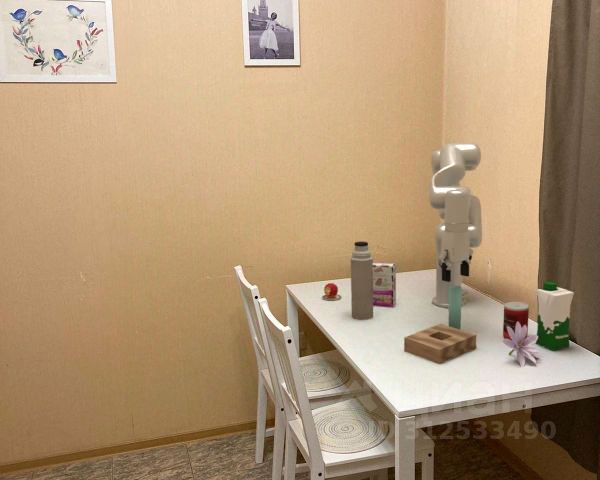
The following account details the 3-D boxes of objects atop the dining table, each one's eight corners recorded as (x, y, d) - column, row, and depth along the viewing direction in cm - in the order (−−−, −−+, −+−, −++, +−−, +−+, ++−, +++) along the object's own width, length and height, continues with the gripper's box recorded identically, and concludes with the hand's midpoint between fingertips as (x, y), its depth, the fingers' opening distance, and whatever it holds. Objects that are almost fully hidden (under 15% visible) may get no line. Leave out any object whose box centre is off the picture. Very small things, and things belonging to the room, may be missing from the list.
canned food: (527, 334, 208) (528, 302, 205) (527, 342, 200) (529, 309, 198) (503, 332, 210) (504, 300, 208) (502, 340, 203) (503, 308, 201)
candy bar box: (396, 303, 244) (396, 263, 240) (393, 307, 239) (393, 266, 236) (368, 301, 248) (368, 261, 245) (365, 305, 244) (364, 264, 240)
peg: (453, 330, 214) (454, 285, 210) (462, 333, 210) (464, 287, 207) (445, 332, 211) (446, 287, 208) (455, 336, 208) (456, 289, 205)
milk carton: (552, 338, 203) (555, 279, 199) (574, 347, 195) (577, 286, 191) (531, 343, 200) (534, 283, 196) (552, 352, 191) (556, 290, 187)
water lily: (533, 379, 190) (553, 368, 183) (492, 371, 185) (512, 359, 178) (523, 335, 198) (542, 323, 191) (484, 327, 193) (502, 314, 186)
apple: (341, 300, 250) (341, 285, 249) (322, 301, 250) (321, 285, 249) (341, 295, 258) (340, 279, 257) (321, 295, 258) (321, 280, 257)
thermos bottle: (374, 313, 234) (373, 240, 228) (372, 320, 226) (371, 244, 220) (352, 312, 235) (351, 239, 230) (350, 319, 228) (349, 244, 222)
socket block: (440, 336, 208) (440, 323, 207) (476, 348, 197) (476, 334, 196) (404, 350, 197) (404, 337, 196) (439, 363, 186) (439, 349, 185)
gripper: (463, 222, 211) (462, 272, 215) (430, 229, 201) (429, 281, 204) (482, 225, 206) (480, 275, 209) (448, 232, 195) (448, 285, 198)
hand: (455, 278), depth 206 cm, fingers open, 9 cm apart
